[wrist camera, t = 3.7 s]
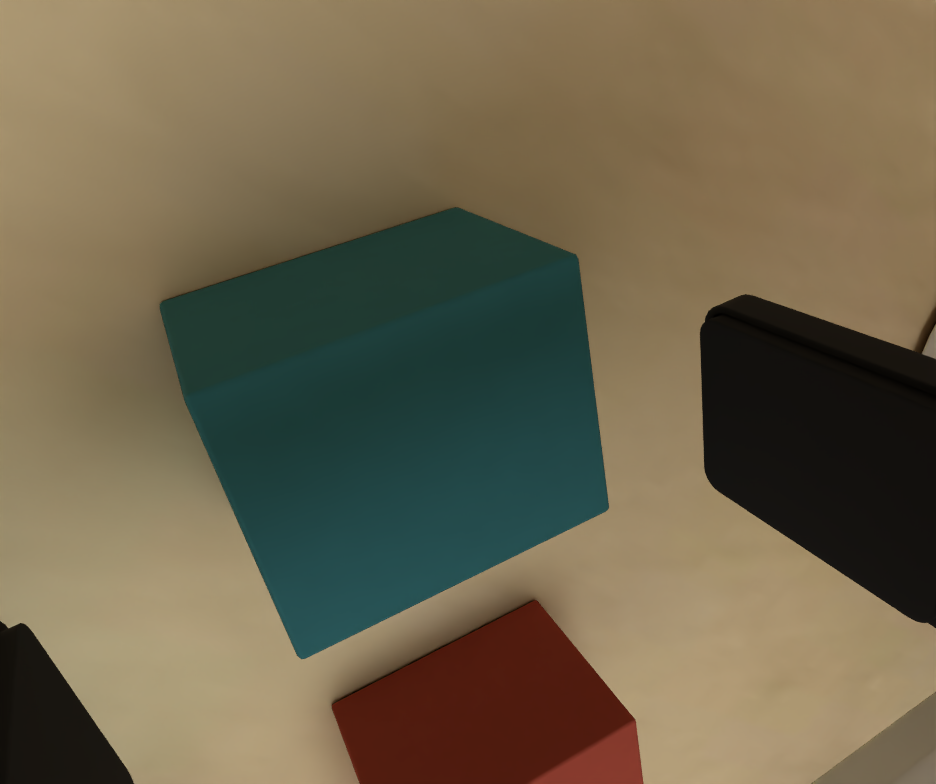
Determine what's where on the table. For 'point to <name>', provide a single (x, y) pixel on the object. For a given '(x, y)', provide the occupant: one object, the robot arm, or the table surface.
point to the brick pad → (493, 714)
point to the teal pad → (394, 413)
